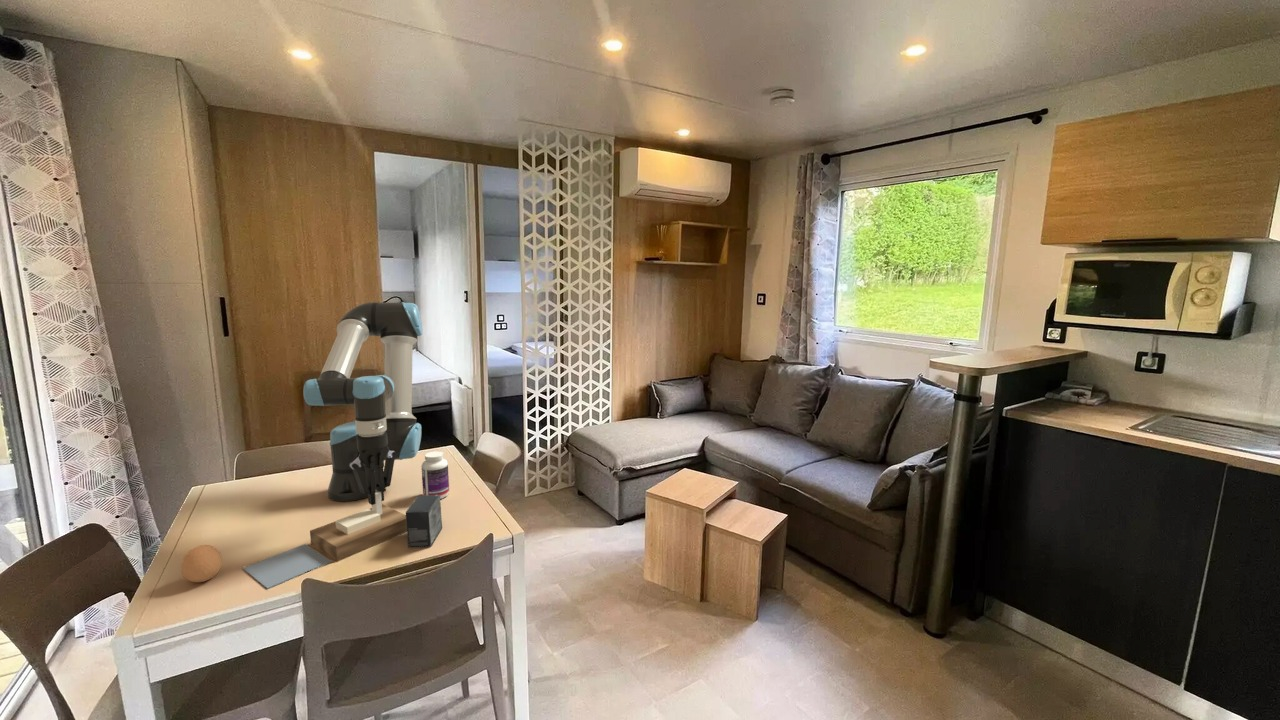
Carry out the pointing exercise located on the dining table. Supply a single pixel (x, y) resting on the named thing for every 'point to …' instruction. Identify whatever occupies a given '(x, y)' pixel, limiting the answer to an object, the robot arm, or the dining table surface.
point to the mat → (286, 565)
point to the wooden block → (358, 535)
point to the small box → (423, 521)
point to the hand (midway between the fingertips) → (377, 513)
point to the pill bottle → (435, 475)
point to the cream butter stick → (358, 521)
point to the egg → (201, 563)
